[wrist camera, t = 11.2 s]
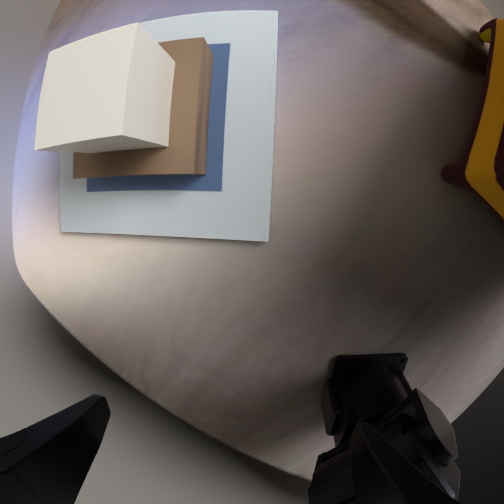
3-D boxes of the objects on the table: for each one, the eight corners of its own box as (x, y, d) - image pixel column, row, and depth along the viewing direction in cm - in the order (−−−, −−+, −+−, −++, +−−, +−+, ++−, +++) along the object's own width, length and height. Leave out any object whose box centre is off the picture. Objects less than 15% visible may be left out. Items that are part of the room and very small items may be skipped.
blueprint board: (277, 17, 15) (278, -13, 11) (268, 238, 19) (268, 254, 15) (83, 45, 16) (55, 30, 12) (68, 229, 20) (36, 240, 16)
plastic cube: (175, 62, 13) (138, 22, 8) (168, 146, 14) (122, 134, 9) (100, 75, 13) (49, 51, 8) (92, 153, 14) (34, 150, 9)
